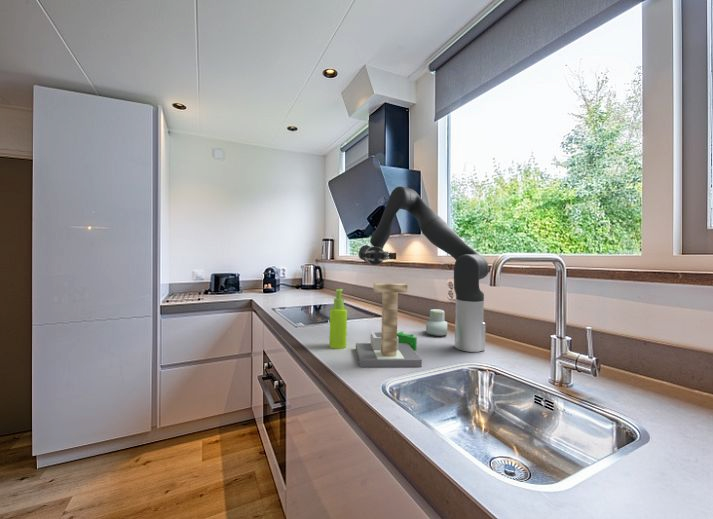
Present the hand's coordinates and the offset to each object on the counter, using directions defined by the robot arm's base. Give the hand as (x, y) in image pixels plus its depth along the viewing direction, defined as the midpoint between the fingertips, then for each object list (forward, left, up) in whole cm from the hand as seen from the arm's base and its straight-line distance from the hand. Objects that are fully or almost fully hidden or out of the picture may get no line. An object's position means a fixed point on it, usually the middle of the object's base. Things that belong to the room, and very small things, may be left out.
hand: (380, 255), depth 116 cm
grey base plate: (0, +17, -32) cm, 36 cm away
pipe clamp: (-9, +6, -32) cm, 34 cm away
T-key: (0, +21, -30) cm, 36 cm away
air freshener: (-26, -11, -32) cm, 43 cm away
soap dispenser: (+15, +5, -32) cm, 36 cm away
